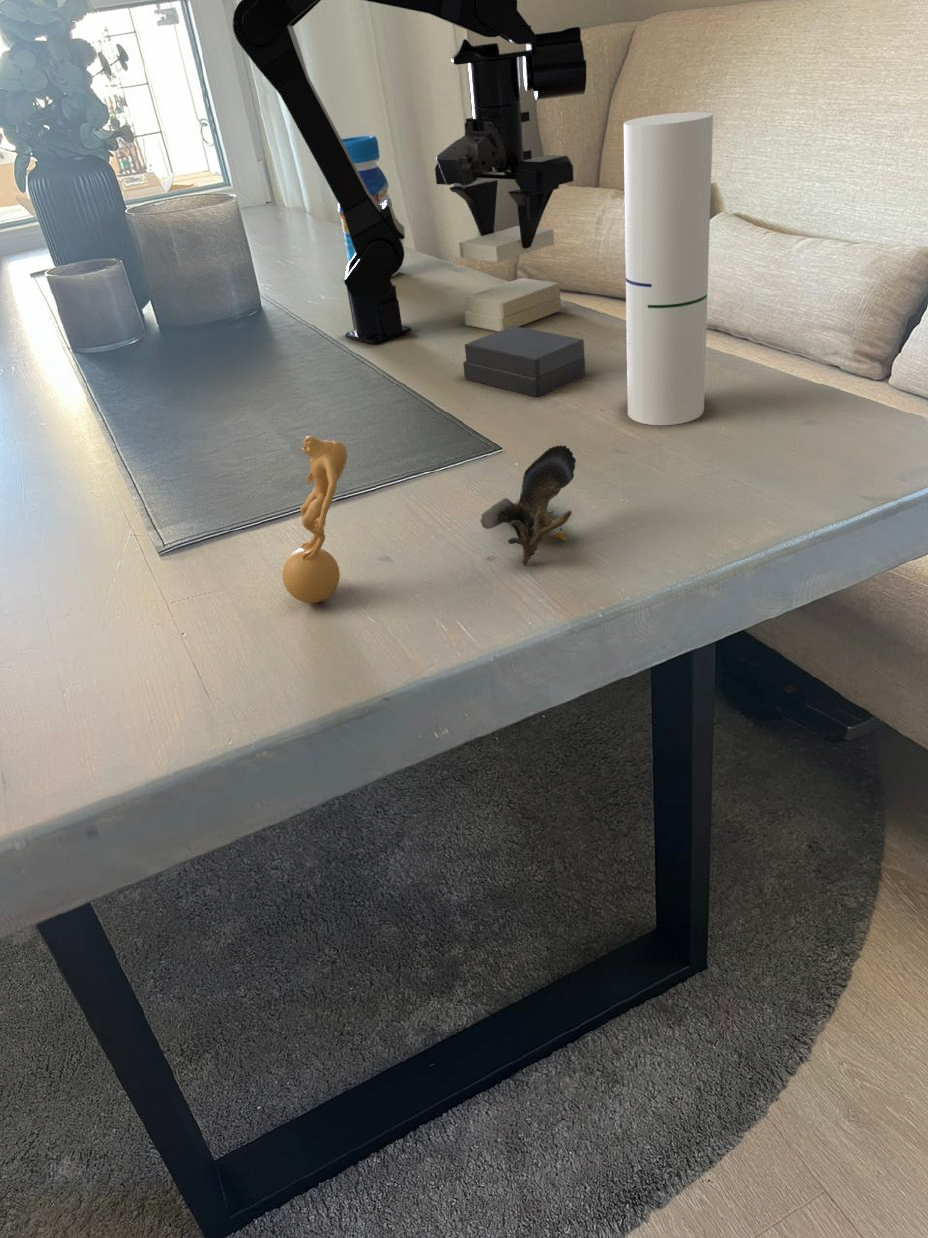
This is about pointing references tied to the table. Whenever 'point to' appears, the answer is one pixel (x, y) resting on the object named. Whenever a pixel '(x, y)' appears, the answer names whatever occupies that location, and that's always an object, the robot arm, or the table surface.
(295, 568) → the figurine
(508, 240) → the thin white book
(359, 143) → the beverage bottle
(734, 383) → the table surface
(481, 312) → the white books
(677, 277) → the cylindrical container
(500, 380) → the grey books
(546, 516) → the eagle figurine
